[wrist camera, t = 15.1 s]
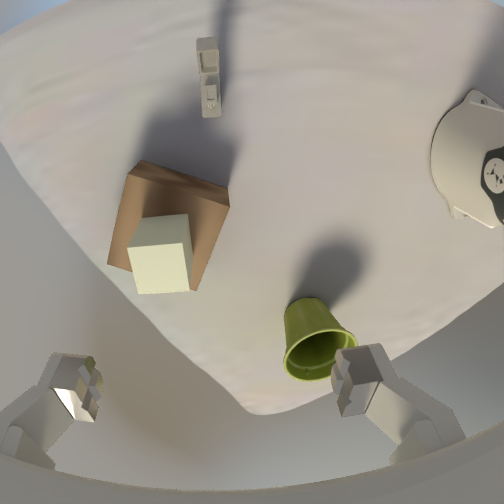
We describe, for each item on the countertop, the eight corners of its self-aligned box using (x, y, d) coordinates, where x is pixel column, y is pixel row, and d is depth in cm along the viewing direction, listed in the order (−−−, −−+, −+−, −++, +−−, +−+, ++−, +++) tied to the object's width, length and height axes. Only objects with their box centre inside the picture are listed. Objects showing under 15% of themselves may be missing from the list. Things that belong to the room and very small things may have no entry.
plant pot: (348, 311, 45) (369, 352, 38) (297, 347, 48) (311, 390, 40) (313, 273, 41) (333, 316, 34) (258, 315, 44) (267, 361, 36)
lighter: (220, 113, 31) (222, 120, 24) (203, 115, 31) (200, 121, 24) (217, 48, 27) (218, 35, 20) (200, 50, 27) (195, 37, 20)
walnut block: (227, 188, 35) (229, 207, 30) (198, 262, 39) (196, 291, 34) (141, 159, 32) (128, 173, 27) (120, 238, 36) (107, 263, 31)
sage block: (187, 213, 30) (182, 242, 24) (193, 255, 32) (189, 291, 27) (141, 218, 29) (127, 247, 24) (149, 259, 31) (138, 294, 26)
